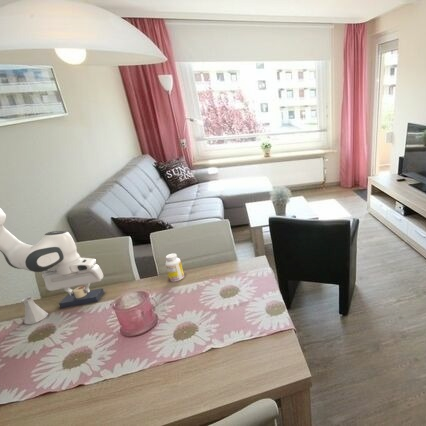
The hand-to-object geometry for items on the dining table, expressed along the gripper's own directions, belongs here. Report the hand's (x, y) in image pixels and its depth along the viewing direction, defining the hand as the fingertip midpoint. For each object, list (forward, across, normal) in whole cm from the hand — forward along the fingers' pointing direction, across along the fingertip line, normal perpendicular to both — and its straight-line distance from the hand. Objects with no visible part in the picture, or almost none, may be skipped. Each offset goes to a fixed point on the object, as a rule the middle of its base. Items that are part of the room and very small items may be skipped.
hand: (80, 293), depth 129 cm
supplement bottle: (+4, +38, +4) cm, 39 cm away
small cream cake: (+1, 0, 0) cm, 1 cm away
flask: (+4, -14, -7) cm, 16 cm away
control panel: (+4, 0, 0) cm, 4 cm away
